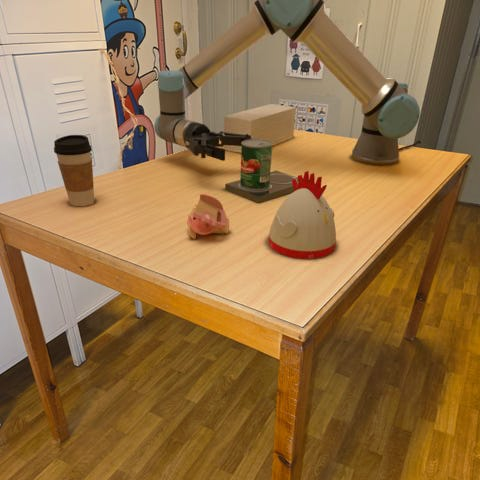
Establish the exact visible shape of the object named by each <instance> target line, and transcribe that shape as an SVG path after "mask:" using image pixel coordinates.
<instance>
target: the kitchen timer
mask: <svg viewBox="0 0 480 480" xmlns="http://www.w3.org/2000/svg"><path fill="white" fill-rule="evenodd" d="M297 177H298V184H297V181H296V179H292V184H293V188H294V192H292V193H289V195H287V196H286V198H285V199H284V200H283V201H282V203H280V206H279V207H278V209H277V210H276V213H275V215H274V218H273V219H272V223H271V225H270V227H269V232H268V245H269V247H270V248H271V249H272V250H273V251H274V252H276V253H278V254H280V255H283V256H285V257H289V258H290V257H291V258H295V259H303V260H304V259H305V260H310V259H319V258H324V257H326V256H328V255H331V254H332V253H333V252H334V250H335V246H336V241H337V230H336V223H335V219H334V218H335V211H334V209H333V208H332V207H330V205H329V203H328V201H327V199H326V198H325V196H323V194H324V193H325V191H326V189H327V186H328V184H324V185H322V180H323V177H322V175H321V176H318V177H317V178H315V172H312V173H309V170H306V171H304V173H303V175H302V174H298V175H297Z"/></svg>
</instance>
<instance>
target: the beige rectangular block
mask: <svg viewBox="0 0 480 480" xmlns="http://www.w3.org/2000/svg"><path fill="white" fill-rule="evenodd" d="M296 112H297V107H295V106H290V105H283V104H277V103H276V104H275V103H269V104H266V105H261V106H258V107H255V108H250V109H247V110H242V111H239V112H234V113H231V114H228V115H227V114H226V115H224V116H223V132H226V133H234V134H243V135H246V134H248V135H251V139H262V140H267V141H270V142H272V147H273V146H275V145H278V144H281V143H283V142H285V141H288V140H291V139H293V138H294V137H295V136H294V135H295V125H296V115H297V114H296ZM241 148H242V146H231V145H224V146H223V149H225V151H229V152H234V153H239V154H241Z"/></svg>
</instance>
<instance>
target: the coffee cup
mask: <svg viewBox="0 0 480 480" xmlns="http://www.w3.org/2000/svg"><path fill="white" fill-rule="evenodd" d="M53 144H54V145H53V146H54V147H53V153H54V154H56V157H57V165H58V167H59V171H60V175H61V178H62V181H63V184H64V188H65V191H66V194H67V198H68V201H69V202H68V203H69V204H70V205H71V206H73V207H86V206H90V205H92V204H94V203H95V190H94V189H95V188H94V170H93V159H92V156H91V155H92V154H91V153H92V151H93V148H92V145H91V143H90V140H89V137H88V136H86V135H83V134H68V135H64V136H61V137H59V138H57V139H55V140H54V142H53Z"/></svg>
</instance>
